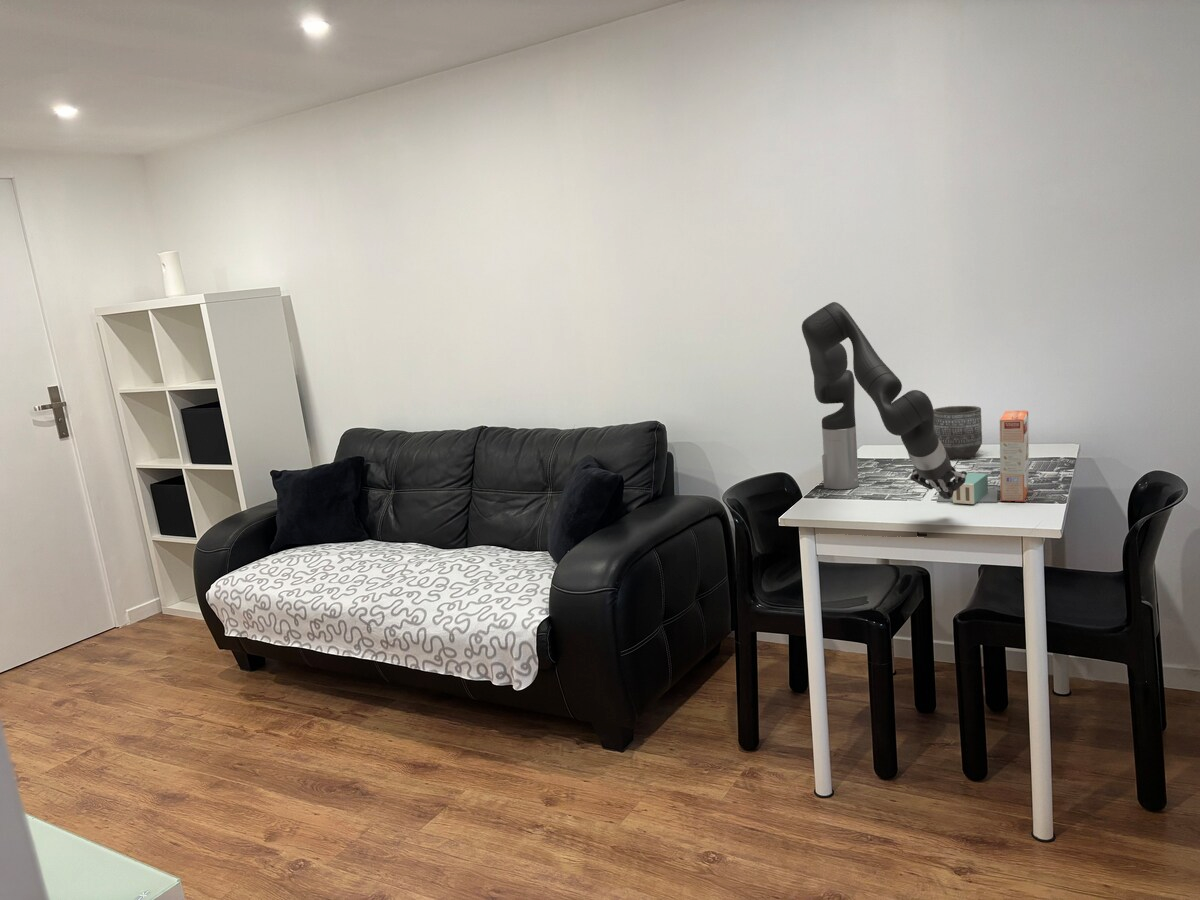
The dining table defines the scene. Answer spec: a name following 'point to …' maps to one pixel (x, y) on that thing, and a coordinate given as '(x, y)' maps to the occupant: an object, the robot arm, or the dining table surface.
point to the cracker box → (1014, 456)
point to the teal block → (971, 489)
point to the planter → (959, 430)
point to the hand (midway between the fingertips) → (948, 495)
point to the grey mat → (988, 498)
